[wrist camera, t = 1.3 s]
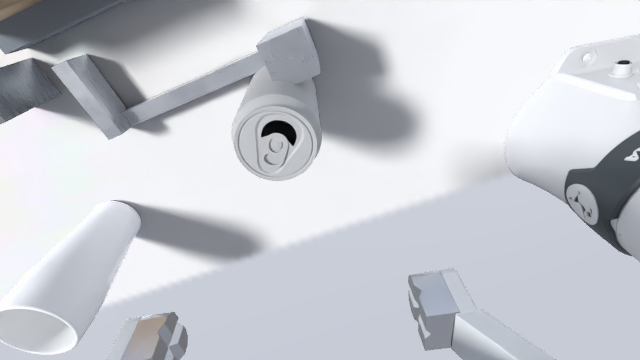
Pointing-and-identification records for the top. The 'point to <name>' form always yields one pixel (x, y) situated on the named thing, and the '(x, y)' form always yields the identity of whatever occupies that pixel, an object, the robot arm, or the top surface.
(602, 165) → the robot arm
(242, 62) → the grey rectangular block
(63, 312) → the drinking glass
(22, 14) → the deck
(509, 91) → the top surface
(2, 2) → the cubby
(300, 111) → the beverage can
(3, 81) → the mallet
